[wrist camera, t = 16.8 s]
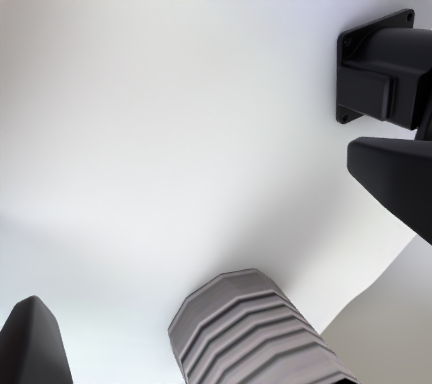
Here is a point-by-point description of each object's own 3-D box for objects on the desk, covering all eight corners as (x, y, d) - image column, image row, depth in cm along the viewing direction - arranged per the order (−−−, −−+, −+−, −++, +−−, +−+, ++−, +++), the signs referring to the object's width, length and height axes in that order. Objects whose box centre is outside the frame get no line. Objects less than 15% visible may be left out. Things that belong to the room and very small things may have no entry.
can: (295, 274, 34) (399, 384, 24) (239, 358, 36) (313, 485, 27) (204, 259, 27) (300, 402, 18) (144, 363, 30) (200, 534, 20)
